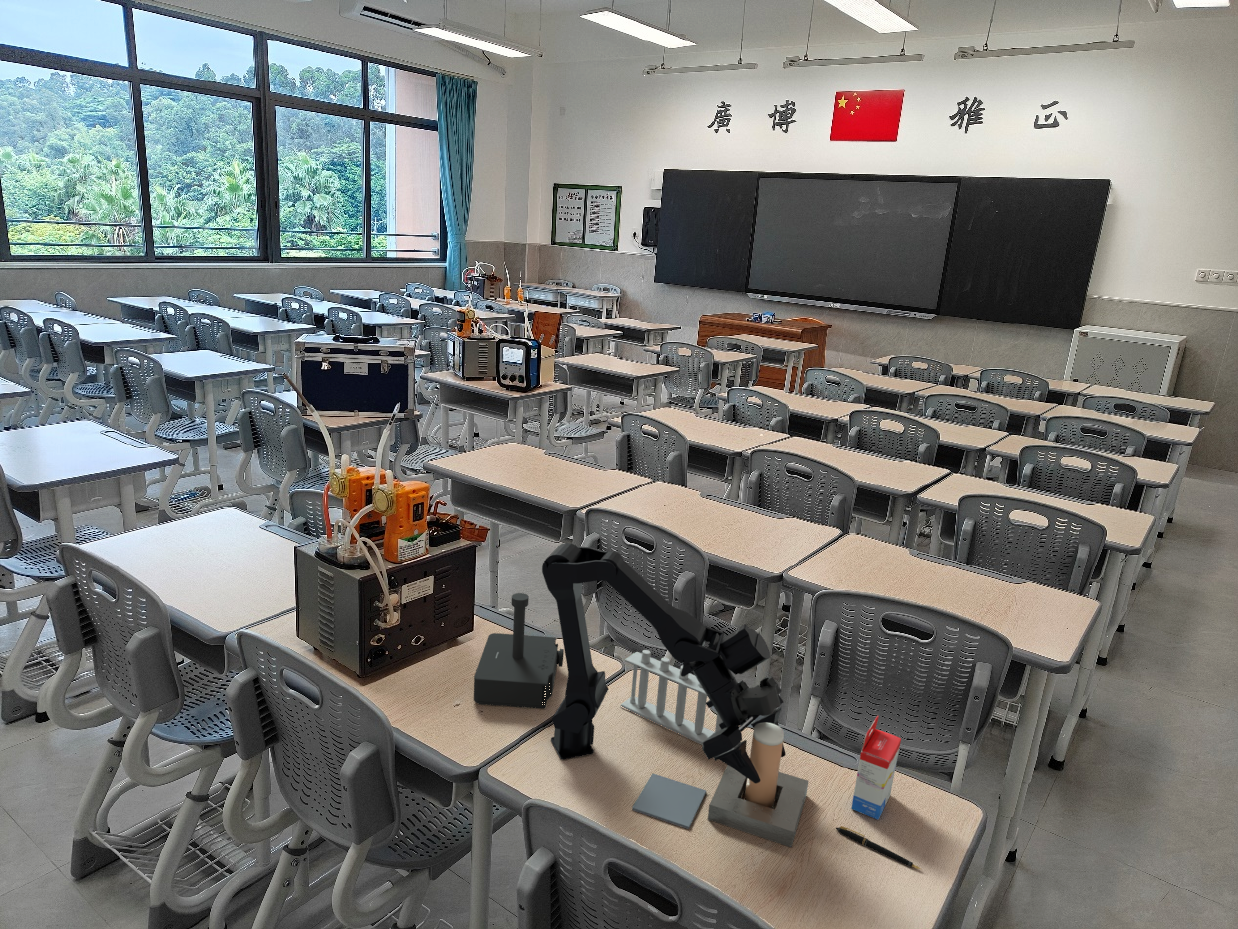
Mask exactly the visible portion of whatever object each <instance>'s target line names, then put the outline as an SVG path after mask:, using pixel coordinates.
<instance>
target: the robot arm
mask: <svg viewBox="0 0 1238 929" xmlns="http://www.w3.org/2000/svg"><path fill="white" fill-rule="evenodd" d="M541 574H542V576H543V579H544V581H545V586H546V587H547V590H548V591H549V593H550V594H551V595H552V597H553V598H554V599H555V602H556V606H557V608H556V609H557V612H558V618H559V626H560V630H561V636H562V643H563V649H564V656H565V661H566V666H567V679H566V685H565V692H564V693H565V694H564V695H565V696H564V698H563V699H562V701H561V703H560V704H559V706H558V707H557V709H556V711H555V712H554V714H553V716H552V718H551V720H552V724H553V726H554V734H553V736H552V737H550V742H551V745H552V746H553V747H554V750H555V751H556V754H557V755H558V757H559V759H560V760H562V761H564V760H570V759H574V758H579V757H584V756H589V755H593V754H594V753H595V751H594V750H595V749H594V748H593V745H594V738H595V737H594V736H595V735H594V734H595V725H594V723H593V719H594V718H595V717H596V715H597V713H598V711H599V709H600V708H601V705H602V703H603V701H604V700H605V697H606V695H607V694H608V691H609V687H608V685H607V683H606V671H604V670H603V671H598V670H597V668H596V667H595V666H594V665H593V660H592V659H593V658H592V653H591V647H590V640H589V635H588V634H589V633H588V626H587V622H586V615H585V609H584V603H583V594H582V592H583V584H584V583H585V584H586V583H590V582H591V583H592V582H598V581H600V582H601V581H602V582H606V583H607V584H609V586H610V587H612V589H614V590H615V591H616V592H617V593H618V594H619V595H620V596H621V598H623V599H624V600H625V601H626V602H628V604H630V605H631V607H632V608H634V609H635V610H636V611H637V612H638V613H639V614H640V615H641V616H642V617H643V618H644V619H645V620H646V621H647V622H648V623H649V624H650V625H651V626H652V627H653V628H654V630H655V631H656V633H657V635H658V637H659V639H660V642H661V644H662V645H663V646H664V648H665V649H666V650H667V652H668V653H669V654H670V655H671V656H672V658H673V659H674V660H676V661H677V662H679V663H681V664H682V665H683V668H682V672H681V676H682V677H684V676H686V675H687V674H689V673H690V674H692V673H693V675H695V676H696V678H697V680H698V681H699V683H700V685H701V686H702V688H703V690H704V691H705V693H706V695H707V698H708V700H707V701H706V707H707V708H708V709H711V708H712V707H713V708H714V710H715V711H716V714H717V713H718V715H719V716H720V718H721V720H722V722H721V723H720V724H719V726H720V728H721V730H719V731H717V732H715V731H714V732H715V733H713V734H712V735H711V736H710V737H709V738H707V739H706V740H705V741H704V742H703V745H702V746H701V748H702V751H703V753H704V754H705V756H706V758H707V760H708V761H709V760H711V759H713V760H714V761H715V762H718V761H720V762H722V763H724V764H726V765H729V766H730V767H732V768H734V769H735V770H737V771H738V772H740V773H741V774H742V775H744V776H745V777H747V778H748V779H749V780H751V781H752V782H754V783H755V784H756V783H759V782H760V781H761V780H760V778H759V775H758V773H757V771H756V769H755V767H754V765H753V763H752V762H751V760H750V755H749V754H748V752H747V742H748V741H747V739H745V740H743V734H742V733H743V731H744V730H745V729H747V728H748V727H749V726H750V725H751V727H752V728H753V729H754V727H755V725H757V724H759V723H763V722H767V723H772V724H775V725H777V726H779V718H780V714H781V711H782V710H783V708H782V706H781V705H782V704H783V703H784V700H783V699H782V697H781V696H780V694H782V691H783V690H782V689H781V688H780V687H779V683H778V682H777V681H776V680H775V679H774V677H773V676H765V677H764V678H762V679H761V680H760V681H759V685H755V686H754V687H749V686H748V683H747V682H746V681H744V680H743V679H742V680H740V681H738V680H737V678H736V677H735V675H738V674H739V675H743V674H745V673H747V672H748V671H750V670H752V669H753V668H755V667H757V666H759V665H761V664H763V663H764V662H766V661H767V660H769V659H770V658H771V652H770V648H769V646H768V644H767V642H766V640H765V639H764V637H763V636H762V634H760V633H759V632H757V631H756V630H754V629H753V628H750V627H749V625H748V624H747V623H744V624H742V625H741V626H739V627H738V628H737V629H736V630H734V631H733V632H731V633H730V634H728V635H726V633H725V632H724V631H720V630H719V629H715V628H712V627H710V626H706V625H704V623H702V622H701V621H700V620H699V619H697V618H696V617H695V616H693V615H691V614H690V613H688V612H687V611H685V610H682V609H679V608H677V607H675V606H673V605H672V604H670V603H669V602H668V601H667V600H666V599H665V598H664V597H663V596H662V595H661V594H660V593H659V592H658V591H656V589H655V588H654V587H652V585H650V584H649V582H647V581H646V580H645V579H644V578H643V577H642V576H641V575H640V574H639V573H638V572H637V571H635V569H633V568H632V567H631V566H630V564H628V562H626V561H625V560H624V558H623V556H622V555H621V553H619V552H616V551H611V550H607V551H605V550H601V549H597V548H594V547H591V546H577V545H575V544H573V543H571V542H570V543H569V542H565V543H560V544H559V545H558V546H557V547H556V548H555V549H554V550H553V551H552V552H551V553H550V554H549V555H548V556H547V557H546V558H545V560H544V561H543V562H542V565H541ZM706 643H708V646H705V644H706ZM779 727H780V726H779ZM786 754H787V752H786V751H785V746H784V744H783V746H782V753H781V758H784V757H785V756H786Z"/></svg>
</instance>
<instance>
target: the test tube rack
mask: <svg viewBox="0 0 1238 929" xmlns="http://www.w3.org/2000/svg"><path fill="white" fill-rule="evenodd" d="M651 656H652V653H651V651H650V650H649V649H643V650H642V652H638V651H636V652H634V653H633V654H631V655H629V656H628V657H626V658H625V659H624V662H626V663H628V664H631V665H633V668H632V669H633V670H632V671H633V673H632V681H631V682H632V683H631V692H630V693H631V695H630V697H628V698H627V699H626V700H625V701H623V702H622V703H621V704H620V707H621V706H622V707H624V708H626V709H628V710H630V711H632V712H634V713H636V714H638V715H640V716H639V717H641V716H642V717H641V718H643V717H644V718H643V719H645V718H646V719H645V720H647V719H649V720H651V721H653V722H652V723H654V722H655V723H654V724H656V723H657V724H656V725H658V724H659V725H658V726H660V725H662V726H663V728H664V727H666V728H665V729H667V730H669V729H670V731H671V730H672V731H671V732H673V731H674V732H673V733H675V732H676V733H675V734H677V733H679V734H678V735H680V734H681V735H680V736H682V735H683V736H682V737H684V736H685V738H686V737H687V739H688V740H691V741H693V742H695V743H698V744H699V745H702V746H703V742H704V741H705V740H706V739H707V738H709V737H710V736H711V735H712V734H713V733H715V732H717V731H719V730H721V728H720V726H719V724H720V723H721V722H722V720H721V718H720V716H719V715H718V713H717V712H716V718H715V719H716V721H715V722H716V723H715V729H714V730H711V729H709V728H707V727H705V726H704V725H705V716H706V709H707V705H706V702H708V699H707V698H708V696H707V695H706V693H705V691H704V690H703V688H702V686H701V685H700V683H699V681H698V680H697V678H696V676H695V675H694V673H693V674H692V673H689V674H687V675H686V676H684V677H682V676H681V672H682V668H683V664H682V665H681V666H680V668H677V667H675V666H673V665H671V664H670V663H671V662H670V658H668V657H666V656H664V657H662V658H660V660H658V659H656V658H654V657H651ZM638 668H640V672H639V681H638V682H639V683H638V684H639V685H638V693H637V696H636V690H637V689H636V688H637V678H638ZM650 673H652V674H654V675H657V676H658V685H657V697H656V698H657V699H656V705H655V704H653V703H651V702H649V701H647V699H648V698H647V696H648V689H649V688H648V687H649V686H648V685H649V676H650ZM668 681H670V682H673V683H676V684H678V685H677V693H676V694H677V696H676V705H675V713H673V712H671V711H669V710H666V703H667V702H666V700H667V694H668V693H667V692H668ZM688 689H689V690H692V691H694V692H697V693H698V694H697V702H696V710H695V718H694V722H693V721H691V720H688V719H686V718H685V712H686V710H685V709H686V704H687V691H688ZM630 711H629V712H630ZM632 712H631V713H632ZM634 713H633V714H634ZM636 714H635V715H636ZM638 715H637V716H638ZM649 720H648V721H649ZM651 721H650V722H651ZM662 726H661V727H662Z"/></svg>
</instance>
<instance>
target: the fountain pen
mask: <svg viewBox="0 0 1238 929" xmlns="http://www.w3.org/2000/svg"><path fill="white" fill-rule="evenodd" d="M835 829H836V831H837V832H838V833H840V834H841V835H843V836H844V837H845V838H847V839H850V840H852V841H854V842H856V843H858V844H859V845H862V846H863V847H867V848H869V849H870V850H873V851H875V852H877V853H879V854H881V855H883V856H886V857H888V858H889V859H892V860H895V861H896V862H898V863H901V864H903V865H905V866H907V867H909V868H912V867H913V868H915V869H916V870H917V869H918V870H922V868H921V867H920V866H918V865H916V864H914V863H913V862H914V861H913V862H912V861H911V860H909V859H907V858H904V857H903V856H901V855H899V854H897V853H895V852H893V851H892V850H890V849H887V848H886V847H883V846H881V845H880V844H877V843H875V842H873V841H871V840H869V839H868V838H866V837H865V834H863V833H860V832H857V831H856V830H853V829H851V828H848V827H846V826H842V825H841V826H840V827H835Z"/></svg>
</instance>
